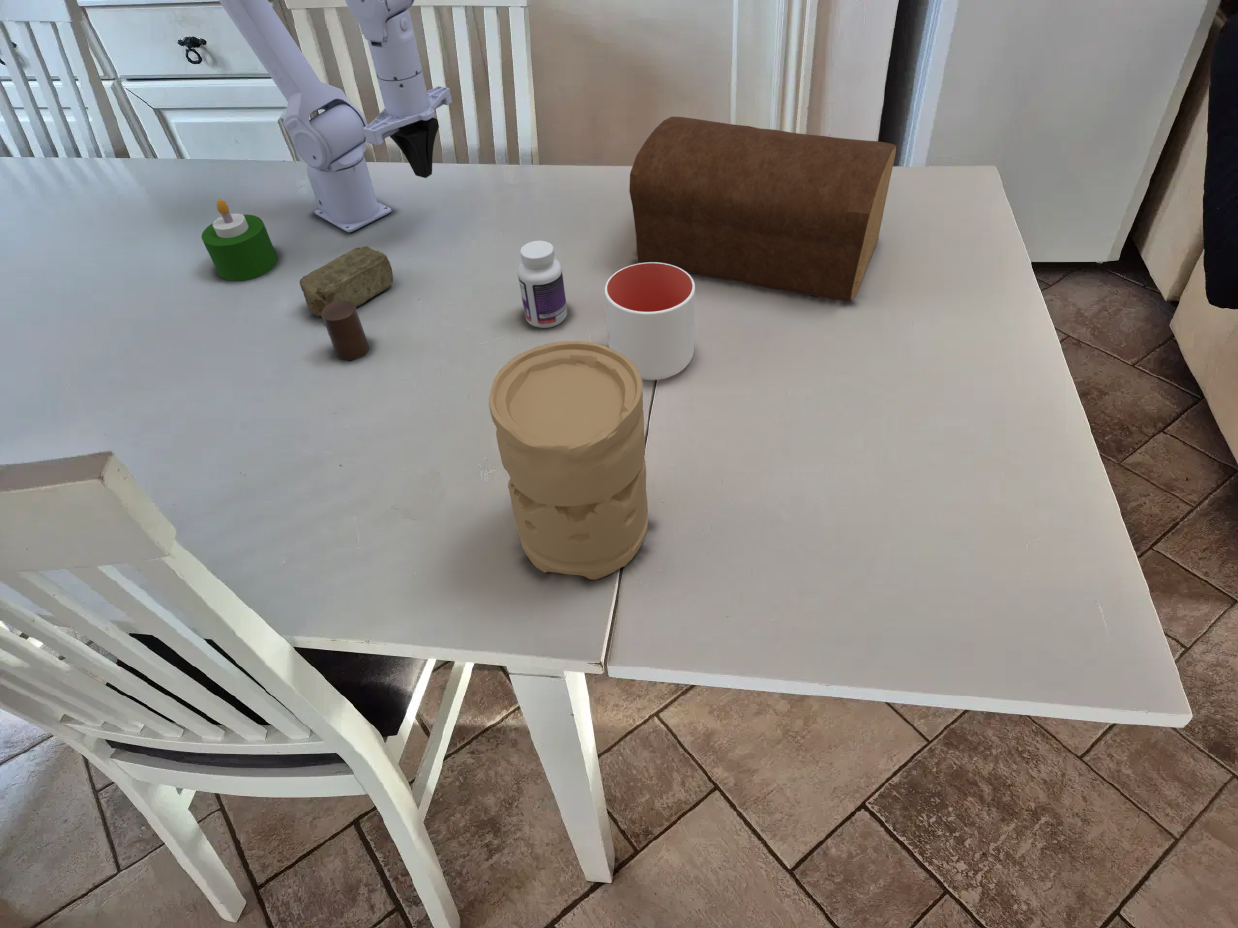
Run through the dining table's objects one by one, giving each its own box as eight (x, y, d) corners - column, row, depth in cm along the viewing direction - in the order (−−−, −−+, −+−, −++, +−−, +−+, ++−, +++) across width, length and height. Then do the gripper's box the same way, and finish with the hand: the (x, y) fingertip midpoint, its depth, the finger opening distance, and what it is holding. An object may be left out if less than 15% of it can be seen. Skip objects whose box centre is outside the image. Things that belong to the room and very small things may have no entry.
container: (655, 574, 75) (650, 434, 62) (519, 587, 74) (485, 449, 61) (641, 475, 83) (634, 334, 70) (519, 487, 83) (490, 347, 70)
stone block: (399, 284, 110) (389, 252, 107) (331, 327, 104) (318, 295, 101) (372, 271, 113) (362, 239, 109) (304, 312, 107) (291, 280, 103)
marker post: (330, 352, 101) (314, 312, 96) (356, 336, 103) (342, 296, 98) (348, 364, 99) (333, 324, 94) (375, 348, 101) (361, 308, 96)
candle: (231, 287, 112) (201, 222, 105) (208, 264, 116) (177, 200, 109) (287, 264, 115) (261, 199, 108) (262, 242, 120) (236, 178, 113)
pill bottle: (574, 309, 104) (567, 241, 97) (555, 333, 101) (546, 265, 94) (538, 300, 106) (528, 233, 99) (517, 323, 103) (505, 256, 96)
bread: (677, 205, 121) (676, 95, 110) (880, 238, 112) (903, 122, 100) (630, 269, 110) (624, 154, 98) (851, 311, 101) (874, 190, 89)
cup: (703, 339, 98) (705, 268, 91) (680, 392, 92) (680, 319, 85) (625, 326, 101) (621, 256, 94) (597, 377, 95) (591, 305, 87)
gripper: (382, 99, 96) (409, 204, 106) (460, 57, 105) (479, 158, 114) (340, 89, 99) (370, 193, 109) (419, 49, 107) (441, 148, 117)
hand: (423, 174), depth 112 cm, fingers closed
